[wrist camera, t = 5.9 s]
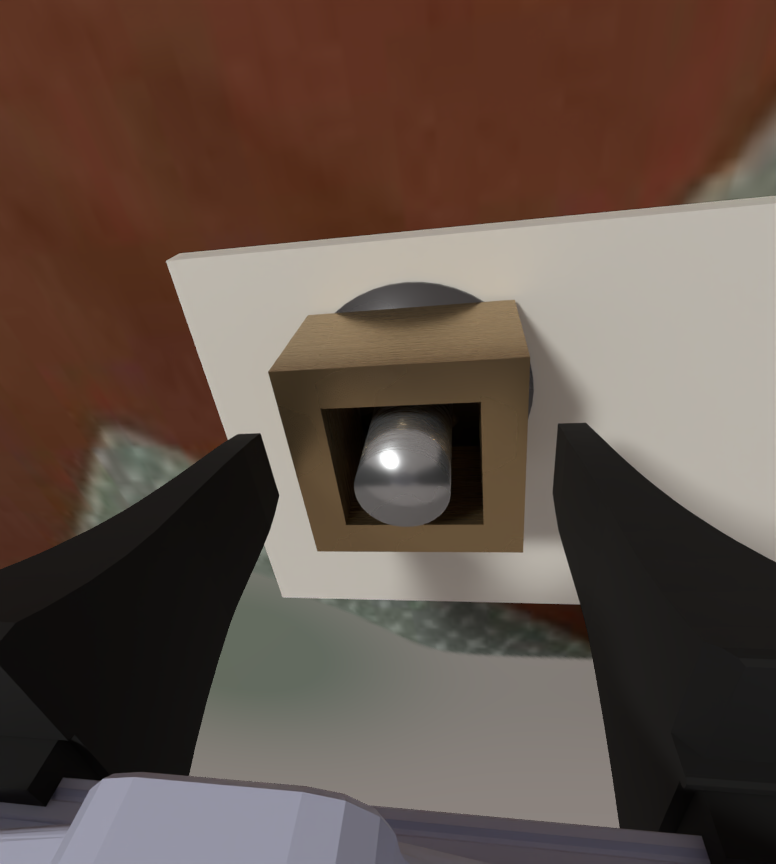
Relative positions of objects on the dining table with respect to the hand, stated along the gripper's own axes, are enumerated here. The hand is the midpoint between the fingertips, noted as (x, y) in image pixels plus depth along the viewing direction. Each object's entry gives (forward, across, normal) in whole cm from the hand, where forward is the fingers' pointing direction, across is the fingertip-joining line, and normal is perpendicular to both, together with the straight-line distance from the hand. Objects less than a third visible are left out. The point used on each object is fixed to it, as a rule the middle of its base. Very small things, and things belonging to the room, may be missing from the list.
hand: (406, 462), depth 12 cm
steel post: (+4, 0, 0) cm, 4 cm away
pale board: (+4, -4, +2) cm, 7 cm away
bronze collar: (+3, 0, 0) cm, 3 cm away
